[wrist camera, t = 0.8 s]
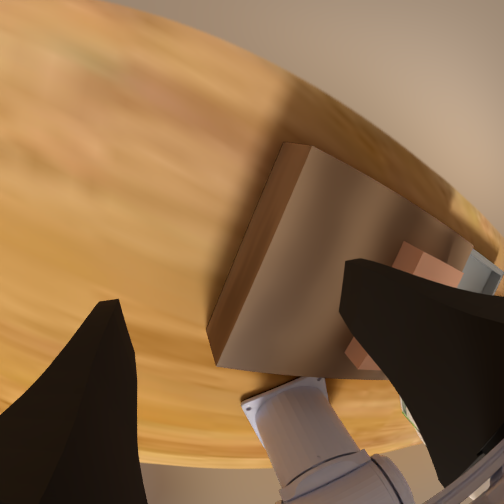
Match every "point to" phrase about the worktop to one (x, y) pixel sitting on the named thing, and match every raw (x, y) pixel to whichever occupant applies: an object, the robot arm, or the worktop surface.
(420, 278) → the robot arm
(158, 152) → the worktop surface
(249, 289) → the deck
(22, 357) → the worktop surface
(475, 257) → the tray
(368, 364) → the tile
